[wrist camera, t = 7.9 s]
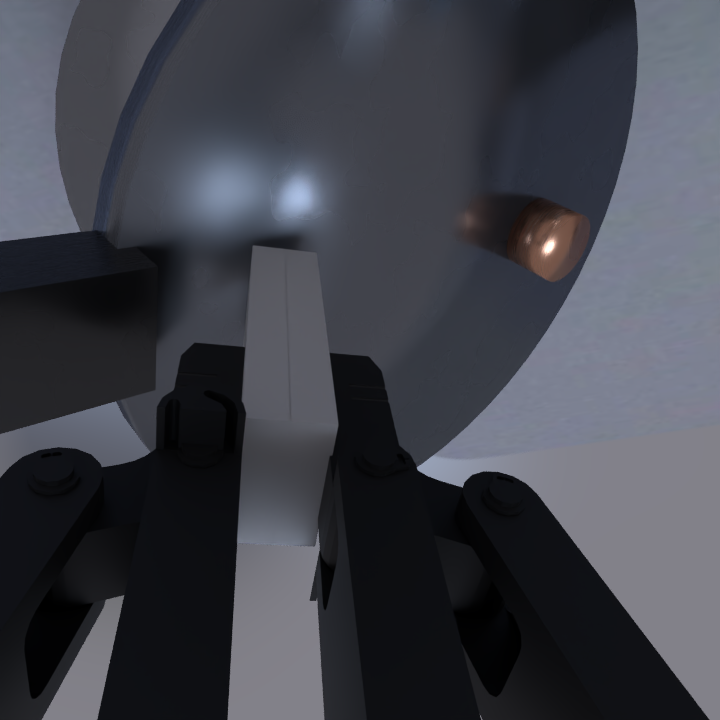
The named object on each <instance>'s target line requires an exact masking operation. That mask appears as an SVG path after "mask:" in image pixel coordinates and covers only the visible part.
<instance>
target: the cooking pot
mask: <svg viewBox="0 0 720 720" xmlns="http://www.w3.org/2000/svg"><path fill="white" fill-rule="evenodd" d="M180 1H181V0H81V1H80V3H79V5H78V7H77V9H76V11H75V14H74V16H73V19H72V22H71V25H70V29H69V32H68V35H67V39H66V42H65V45H64V49H63V52H62V56H61V62H60V69H59V76H58V82H57V89H56V124H55V132H56V140H57V148H58V156H59V164H60V170H61V174H62V177H63V181H64V185H65V189H66V193H67V196H68V200H69V204H70V206H71V209H72V211H73V213H74V216H75V218H76V221H77V223H78V226H79V228H80V231H81V232H85V231H92V229H93V223H94V217H95V211H96V206H97V200H98V194H99V188H100V182H101V177H102V173H103V170H104V167H105V163H106V160H107V157H108V154H109V150H110V147H111V144H112V141H113V137H114V134H115V131H116V128H117V124H118V121H119V118H120V115H121V112H122V110H123V108H124V106H125V104H126V101H127V99H128V97H129V95H130V93H131V90H132V88H133V86H134V84H135V81H136V79H137V77H138V75H139V73H140V70H141V68H142V66H143V64H144V62H145V59H146V57H147V55H148V53H149V51H150V50H151V48H152V46H153V45H154V43H155V41H156V40H157V38H158V37H159V35H160V33H161V32H162V30H163V28H164V27H165V25H166V23H167V22H168V20H169V19H170V17H171V15H172V14H173V12H174V10H175V9H176V7H177V6H178V4H179V2H180Z"/></svg>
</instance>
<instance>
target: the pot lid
mask: <svg viewBox="0 0 720 720" xmlns="http://www.w3.org/2000/svg"><path fill="white" fill-rule="evenodd" d="M637 55H638V40H637V20H636V9H635V2H634V0H181V1H180V2H179V4H178V6H177V7H176V9H175V10H174V12H173V14H172V15H171V17H170V19H169V20H168V22H167V23H166V25H165V27H164V28H163V30H162V32H161V33H160V35H159V37H158V38H157V40H156V41H155V43H154V45H153V46H152V48H151V50H150V51H149V53H148V55H147V57H146V59H145V62H144V64H143V66H142V68H141V70H140V73H139V75H138V77H137V79H136V81H135V84H134V86H133V88H132V90H131V93H130V95H129V97H128V99H127V101H126V104H125V106H124V108H123V110H122V112H121V115H120V118H119V121H118V124H117V128H116V131H115V134H114V137H113V141H112V144H111V147H110V150H109V154H108V157H107V160H106V163H105V167H104V170H103V173H102V177H101V182H100V188H99V194H98V200H97V206H96V211H95V217H94V223H93V229H92V231H85V232H77V233H68V234H60V235H52V236H43V237H35V238H27V239H18V240H10V241H2V242H0V434H1V433H5V432H9V431H12V430H16V429H19V428H23V427H26V426H30V425H34V424H37V423H41V422H44V421H48V420H51V419H55V418H58V417H62V416H65V415H69V414H72V413H76V412H79V411H83V410H86V409H90V408H94V407H97V406H101V405H104V404H108V403H111V402H115V401H116V402H117V404H118V406H119V408H120V410H121V412H122V414H123V416H124V418H125V419H126V420H127V422H128V423H129V425H130V426H131V427H132V429H133V430H134V431H135V433H136V434H137V435H138V437H139V438H140V440H141V441H142V442H143V444H144V445H145V446H146V447H147V448H148V450H149V451H150V452H152V451H153V450H155V449H156V414H157V406H158V404H159V402H160V401H161V399H162V397H164V396H165V395H167V394H168V393H170V392H171V391H173V390H174V388H175V381H176V377H177V373H178V367H179V362H180V358H181V355H182V354H183V353H184V352H185V351H186V350H187V349H188V348H189V347H190V346H191V345H192V344H194V343H207V344H218V345H229V346H240V347H243V342H244V332H245V321H246V310H247V300H248V289H249V279H250V268H251V258H252V247H253V245H255V246H263V247H272V248H281V249H289V250H298V251H307V252H315V253H317V259H318V267H319V275H320V283H321V291H322V298H323V306H324V314H325V322H326V330H327V338H328V346H329V353H338V354H349V355H361V356H369V357H370V358H371V359H372V361H373V362H374V363H375V364H376V365H377V366H378V367H379V368H380V370H381V371H382V374H383V379H384V383H385V390H386V391H387V395H388V402H389V404H390V408H391V412H392V417H393V421H394V425H395V429H396V434H397V438H398V442H399V446H401V447H402V448H403V449H404V450H406V451H407V452H408V453H409V454H410V455H411V456H412V458H413V460H414V462H415V464H416V466H417V467H418V466H419V465H421V464H422V463H424V462H425V461H426V460H427V459H429V458H430V457H431V456H433V455H434V454H435V453H437V452H438V451H439V450H440V449H442V448H443V447H444V446H446V445H447V444H448V443H449V442H450V441H451V440H452V439H454V438H455V437H456V436H457V435H458V434H459V433H460V432H461V431H463V430H464V429H465V428H466V427H467V426H468V425H469V424H470V423H471V422H472V421H473V420H474V419H475V418H476V417H477V416H478V415H479V414H480V413H481V412H482V411H483V410H484V409H485V408H486V407H487V406H488V405H489V404H490V403H491V402H492V401H493V399H494V398H495V397H496V396H497V395H498V394H499V393H500V391H501V390H502V389H503V388H504V387H505V386H506V385H507V384H508V382H509V381H510V380H511V379H512V377H513V376H514V375H515V373H516V372H517V371H518V370H519V368H520V367H521V366H522V365H523V363H524V362H525V361H526V359H527V358H528V357H529V355H530V354H531V353H532V351H533V350H534V348H535V347H536V345H537V344H538V342H539V341H540V340H541V338H542V337H543V335H544V334H545V332H546V331H547V329H548V328H549V326H550V324H551V323H552V321H553V320H554V318H555V316H556V315H557V313H558V312H559V310H560V308H561V307H562V305H563V303H564V302H565V300H566V298H567V296H568V294H569V292H570V291H571V289H572V287H573V285H574V283H575V281H576V280H577V278H578V276H579V274H580V272H581V270H582V267H583V265H584V263H585V261H586V259H587V257H588V255H589V253H590V251H591V249H592V246H593V244H594V242H595V239H596V237H597V234H598V232H599V229H600V227H601V224H602V222H603V220H604V217H605V214H606V212H607V209H608V206H609V203H610V200H611V197H612V194H613V191H614V188H615V185H616V182H617V178H618V175H619V171H620V167H621V164H622V160H623V156H624V153H625V148H626V144H627V139H628V134H629V129H630V124H631V119H632V112H633V104H634V96H635V89H636V78H637Z"/></svg>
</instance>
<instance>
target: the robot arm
mask: <svg viewBox="0 0 720 720" xmlns="http://www.w3.org/2000/svg"><path fill="white" fill-rule="evenodd" d="M318 529H319V543H320V551H319V556H318V561H317V566H316V572H315V576H314V582H313V586H312V592H311V597H310V601H316V599H317V601H318V616H319V617H318V618H319V634H320V651H321V667H322V683H323V701H324V717H325V720H481V718H480V715H481V717H482V719H483V720H709V719H708V717H707V716H706V715H705V714H704V712H703V711H702V710H701V708H700V707H699V706H698V705H697V703H696V702H695V701H694V699H693V698H692V696H691V695H690V694H689V692H688V691H687V690H686V689H685V687H684V686H683V685H682V683H681V682H680V681H679V679H678V678H677V677H676V676H675V674H674V673H673V672H672V671H671V669H670V668H669V666H668V665H667V664H666V662H665V661H664V660H663V658H662V657H661V656H660V654H659V653H658V652H657V651H656V650H655V648H654V647H653V645H652V644H651V643H650V641H649V640H648V639H647V638H646V636H645V635H644V634H643V632H642V631H641V630H640V628H639V627H638V626H637V625H636V623H635V622H634V620H633V619H632V618H631V616H630V615H629V614H628V613H627V611H626V610H625V609H624V607H623V606H622V605H621V603H620V602H619V601H618V599H617V598H616V597H615V596H614V594H613V593H612V592H611V590H610V589H609V588H608V586H607V585H606V584H605V582H604V581H603V580H602V578H601V577H600V576H599V575H598V573H597V572H596V571H595V569H594V568H593V567H592V565H591V564H590V563H589V561H588V560H587V559H586V557H585V556H584V555H583V554H582V552H581V551H580V550H579V548H578V547H577V546H576V544H575V543H574V542H573V540H572V539H571V538H570V536H569V535H568V534H567V533H566V531H565V530H564V529H563V527H562V526H561V525H560V523H559V522H558V521H557V520H556V518H555V517H554V515H553V514H552V513H551V512H550V510H549V509H548V508H547V506H546V505H545V504H544V502H543V501H542V500H541V498H540V497H539V496H538V495H537V493H535V492H534V491H533V490H532V489H531V488H530V487H529V486H528V485H527V484H526V483H524V482H522V481H520V480H519V479H517V478H515V477H513V476H510V475H507V474H503V473H500V472H480V473H477V474H474V475H472V476H471V477H470V478H469V479H467V481H466V482H465V483H464V486H463V488H462V487H459V486H455V485H452V484H449V483H445V482H442V481H439V480H436V479H433V478H431V477H428V476H426V475H425V474H423V473H421V472H419V471H418V470H417V466H416V464H415V462H414V460H413V458H412V456H411V455H410V454H409V453H408V452H407V451H406V450H404V449H403V448H402V447H401V446H399V442H398V438H397V434H396V429H395V425H394V421H393V417H392V412H391V408H390V404H389V402H388V395H387V391H386V390H385V383H384V379H383V374H382V371H381V370H380V368H379V367H378V366H377V365H376V364H375V363H374V362H373V361H372V359H371V358H370V357H369V356H361V355H349V354H338V353H329V346H328V338H327V330H326V322H325V314H324V306H323V298H322V291H321V283H320V275H319V267H318V259H317V253H315V252H307V251H298V250H289V249H281V248H272V247H263V246H255V245H253V247H252V258H251V268H250V279H249V289H248V300H247V310H246V321H245V332H244V342H243V347H240V346H229V345H218V344H207V343H194V344H192V345H191V346H190V347H189V348H188V349H187V350H186V351H185V352H184V353H183V354H182V355H181V358H180V362H179V367H178V373H177V377H176V381H175V388H174V390H173V391H171V392H170V393H168V394H167V395H165V396H164V397H162V399H161V401H160V402H159V404H158V406H157V414H156V449H155V450H153V451H152V452H151V453H149V454H148V455H146V456H145V457H142V458H140V459H137V460H135V461H132V462H128V463H124V464H120V465H114V466H108V467H101V464H100V463H99V462H98V461H97V460H96V459H95V458H94V457H93V456H92V455H91V454H88V453H86V452H83V451H80V450H78V449H72V448H71V449H70V448H60V447H58V448H51V449H44V450H39V451H36V452H34V453H31V454H29V455H26V456H24V457H22V458H21V459H19V460H18V461H17V462H16V463H14V464H13V465H12V466H11V467H9V469H8V470H7V471H6V472H5V473H4V474H3V475H2V476H1V478H0V720H42V718H43V716H44V714H45V713H46V711H47V708H48V707H49V705H50V703H51V702H52V700H53V698H54V696H55V694H56V693H57V691H58V689H59V687H60V685H61V683H62V682H63V680H64V678H65V676H66V674H67V673H68V671H69V669H70V667H71V665H72V663H73V662H74V660H75V658H76V656H77V654H78V652H79V651H80V649H81V647H82V645H83V644H84V642H85V640H86V638H87V636H88V635H89V633H90V631H91V629H92V627H93V625H94V624H95V622H96V620H97V618H98V616H99V615H100V613H101V611H102V609H103V607H104V604H105V600H106V599H110V598H114V597H118V596H122V595H124V600H123V604H122V608H121V614H120V618H119V622H118V627H117V632H116V636H115V641H114V645H113V650H112V655H111V659H110V664H109V669H108V673H107V678H106V682H105V687H104V692H103V696H102V701H101V706H100V710H99V715H98V719H97V720H227V717H228V698H229V680H230V663H231V645H232V626H233V625H232V624H233V608H234V590H235V572H236V553H237V543H242V544H267V545H294V546H315V544H316V539H317V533H318ZM479 713H480V714H479Z"/></svg>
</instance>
